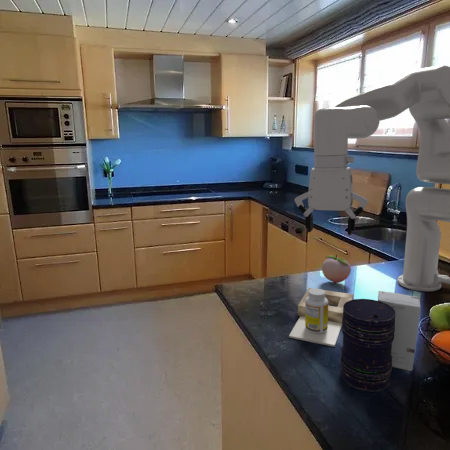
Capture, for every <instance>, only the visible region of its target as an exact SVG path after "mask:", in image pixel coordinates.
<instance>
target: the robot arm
mask: <svg viewBox="0 0 450 450" xmlns="http://www.w3.org/2000/svg"><path fill="white" fill-rule="evenodd" d="M406 110H409V113H410V116H412V118H413V119H414V121H415V123H416V125H417V126H418V129H419V132H420V140H419V141H420V142H419V143H420V144H419V148H418V156H417V161H416V170H415V173H416V177H417V179H418V180H419V181H420V182H424V183H430V184H441V185H442V184H443V185H450V123H449V122H448V121H447V120H448V119H450V66H448V65H435V66H429V67H424V68H423V67H422V68H417V69H413V70H409V71H407V72H405V73H403V74H401V75H399V76H397V77H395V78H394V79H393V80H390V81H388V82H387V83H385V84H383V85H381V86H378V87H375V88H372V89H370V90H368V91H366V92H364V93H360V94H358V95H354V96H352V97H349V98H347V99H344V100H342V101H340V102H338V103H336V104H334V105H332V106H331V107H326V108H320V109H318V110H316V112H315V113H314V119H313V120H314V121H313V123H314V127H313V129H314V131H313V132H314V133H313V135H314V136H313V137H314V140H313V141H314V145H313V146H314V147H313V148H314V150H313V151H314V152H313V153H314V155H313V156H314V157H313V163H314V165H313V167H312V168H311V171H310V175H309V181H308V182H309V183H308V191H307V192H304V193H303V194H300V195H298V196H296V197H295V198H294V203H295V204H296V207H297V208H298V210H299V211H300V212H301V214H303V216H304V217H305V218H304V219H305V229H307V231H306V232H307V233H311V232H312V231H313V230H314V215H313V214H312V213H313V211H314V210H315V211H336V212H337V211H340V212H341V211H344V212H345V213H346V214H347V215H348V219H347V235H349V236H352V233H353V232H354V231H356V217H358V216H359V215H360V214H361V213H362V212H363V211H364V210H365V208H366V206H367V205H368V203H369V200H368V198H366V197H364V196H362V195H360V194H358V193H356V192H354V185H353V173H352V168H351V167H349V166H348V165H350V164H354V162H355V157H354V156H350V155H349V153H348V149H349V148H348V145H349V144H348V143H349V139H350V140H352V139H354V140H355V139H358V140H359V139H366V138H369V137H371V136H372V135H374V134H375V132H376V131H377V130H378V128H379V127H380V126H379V125H380V122H381V121H385V120H389V119H392V118H394V117H397V116H399V115H400V114H403V112H405V111H406ZM306 199H307V205H308V207H306V205H304V203H303V201H304V200H306ZM354 200H355V202H358V203H360V204H359V206H358V207H357V208H356V209H354V208H353V207H352V206H353V202H354ZM405 211H406V237H405V249H404V260H403V270H402V271H403V272H402V274H400V275H399V276H398V277H397V283H398V284H399V285H400V286H402V287H404V288H406V289H409V290H412V291H417V292H435V291H439V290H440V289H441V288H442V283H443V284H447V285H450V277H449V275H444V274H440V273H439V271H438V265H439V255H440V246H441V245H440V244H441V237H442V236H441V235H442V234H441V233H442V232H441V228H440V225H439V223H438V221H440V222H445V223H450V189H449V188H441V187H430V186H418V187H414V188H412V189H411V190H410V191H409V192H408V193H407V195H406V197H405Z"/></svg>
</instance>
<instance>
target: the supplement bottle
mask: <svg viewBox="0 0 450 450" xmlns="http://www.w3.org/2000/svg"><path fill="white" fill-rule="evenodd" d="M324 290H325V289H321V288H313V289H311V290H309V296H308V297H307V298H306V300H305V327H306V329H307V330H308V331H309V332H312V333H324V332H325V331H327V329H328V306H329V304H328V300H327V298H326V297H325V291H324Z"/></svg>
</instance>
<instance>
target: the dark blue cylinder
mask: <svg viewBox="0 0 450 450" xmlns="http://www.w3.org/2000/svg"><path fill="white" fill-rule="evenodd" d="M395 316H396V312H395V310H394V309H393V308H392V307H391V306H389V305H388V304H385V303H383V302H380V301H378V300H376V299H369V298H355V299H354V298H353V300H350V301H348V302H346V303H345V304H344V306H343V317H342V327H341V331H342V334H343V337H342V346H341V348H340V349H341V352H340V377H341V378H342V379H343V381H344V382H345V383H346V384H348V385H349V386H350V387H352V388H355V389H357V390H360V391H364V392H380V391H384V390H386V389H387V388H388V387H389V386H390V384H391V376H392V370H393V367H392V355H391V349H392V342H393V340H394V336H395V335H394V332H395Z"/></svg>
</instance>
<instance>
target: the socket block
mask: <svg viewBox="0 0 450 450" xmlns="http://www.w3.org/2000/svg"><path fill="white" fill-rule="evenodd" d="M311 289H314V288H313V287H312V288H311V287H308V289H307V291H306V292H305V293H304V295H303V296H302V299H301V300H300V301H299V303H298V305H297V316H298V317H300V316H303V317H305V300H306V298H307V297H308V296H309V290H311ZM323 290H324V291H325V297H326V298H327V300H328V321H331V322H336V323H342V317H343V306H344V304H345V303H346V302H348V301H350V300H354V297H355V296H354V293H353V294H352V293H347V292H339V291H332V290H328V289H327V290H326V289H323ZM329 304H330V305H329ZM331 304H332V305H331ZM335 305H338V306H335Z"/></svg>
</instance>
